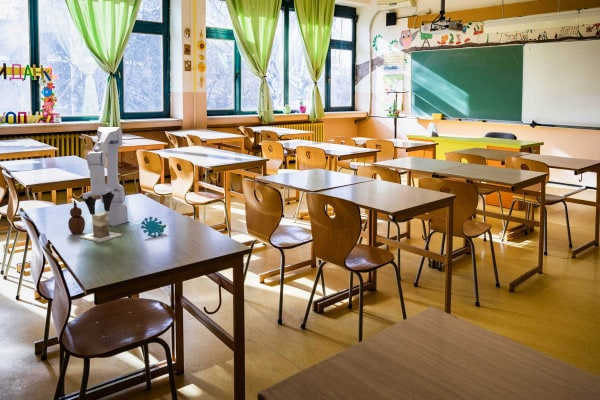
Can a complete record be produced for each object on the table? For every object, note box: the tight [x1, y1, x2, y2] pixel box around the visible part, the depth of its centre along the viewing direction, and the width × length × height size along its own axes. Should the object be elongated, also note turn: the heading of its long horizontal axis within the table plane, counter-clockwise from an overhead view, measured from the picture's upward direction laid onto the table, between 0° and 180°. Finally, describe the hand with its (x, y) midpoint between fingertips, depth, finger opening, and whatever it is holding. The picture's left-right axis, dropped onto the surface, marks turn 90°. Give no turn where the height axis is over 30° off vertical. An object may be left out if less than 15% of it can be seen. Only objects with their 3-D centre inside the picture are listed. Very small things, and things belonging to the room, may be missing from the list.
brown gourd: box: [67, 200, 86, 235], centre depth 238 cm, size 7×6×15 cm
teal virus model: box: [140, 216, 167, 238], centre depth 239 cm, size 11×6×10 cm
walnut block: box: [92, 224, 110, 237], centre depth 234 cm, size 4×4×4 cm
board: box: [79, 231, 123, 243], centre depth 235 cm, size 12×12×1 cm
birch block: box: [91, 212, 109, 227], centre depth 233 cm, size 4×4×4 cm
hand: (99, 212), depth 232 cm, fingers open, 7 cm apart
